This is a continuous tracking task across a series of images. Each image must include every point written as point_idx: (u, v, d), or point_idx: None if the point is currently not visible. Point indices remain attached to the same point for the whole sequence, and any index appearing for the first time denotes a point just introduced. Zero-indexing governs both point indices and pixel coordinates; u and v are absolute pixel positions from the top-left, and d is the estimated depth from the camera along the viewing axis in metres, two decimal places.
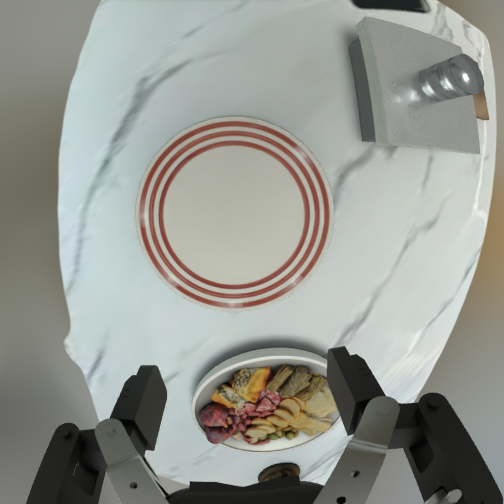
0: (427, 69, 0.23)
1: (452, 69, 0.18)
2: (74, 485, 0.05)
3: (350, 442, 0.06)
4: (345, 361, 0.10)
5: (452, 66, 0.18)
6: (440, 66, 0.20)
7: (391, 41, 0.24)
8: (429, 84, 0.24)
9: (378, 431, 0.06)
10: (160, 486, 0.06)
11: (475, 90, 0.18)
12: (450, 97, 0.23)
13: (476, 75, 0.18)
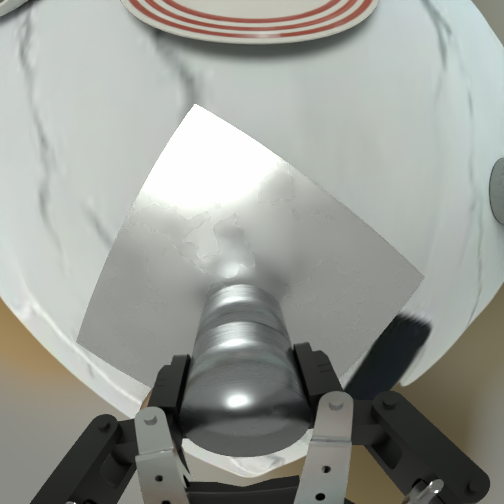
0: None
1: (282, 372, 0.09)
2: (99, 477, 0.06)
3: (312, 440, 0.06)
4: (306, 356, 0.11)
5: (290, 377, 0.09)
6: (291, 350, 0.12)
7: (366, 289, 0.16)
8: (254, 300, 0.14)
9: (337, 425, 0.07)
10: (188, 481, 0.06)
11: (192, 408, 0.08)
12: (202, 330, 0.13)
13: (231, 439, 0.09)
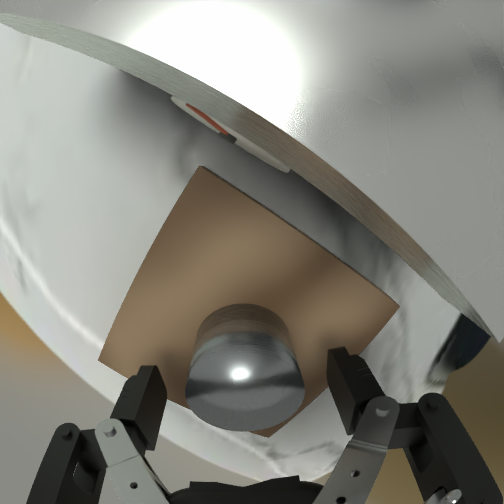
0: None
1: (278, 346, 0.11)
2: (74, 485, 0.05)
3: (350, 442, 0.06)
4: (345, 361, 0.10)
5: (285, 351, 0.11)
6: (286, 330, 0.13)
7: None
8: None
9: (378, 431, 0.06)
10: (160, 486, 0.06)
11: (197, 379, 0.10)
12: None
13: (231, 411, 0.11)
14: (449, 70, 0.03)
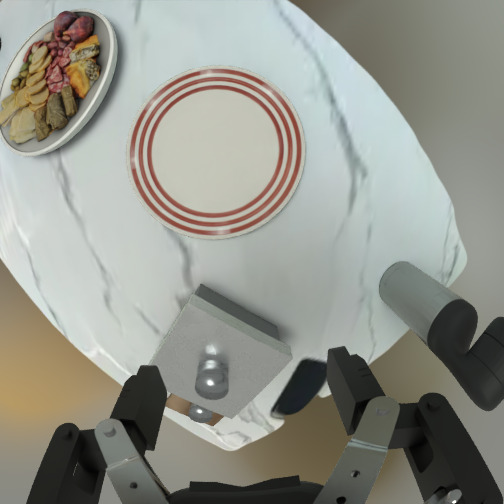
0: (228, 376, 0.39)
1: None
2: (74, 485, 0.05)
3: (350, 442, 0.06)
4: (345, 361, 0.10)
5: None
6: None
7: (262, 362, 0.41)
8: (217, 369, 0.38)
9: (378, 431, 0.06)
10: (160, 486, 0.06)
11: (190, 412, 0.49)
12: (199, 377, 0.37)
13: (198, 418, 0.50)
14: None
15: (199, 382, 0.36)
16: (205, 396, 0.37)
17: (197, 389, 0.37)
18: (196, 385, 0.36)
